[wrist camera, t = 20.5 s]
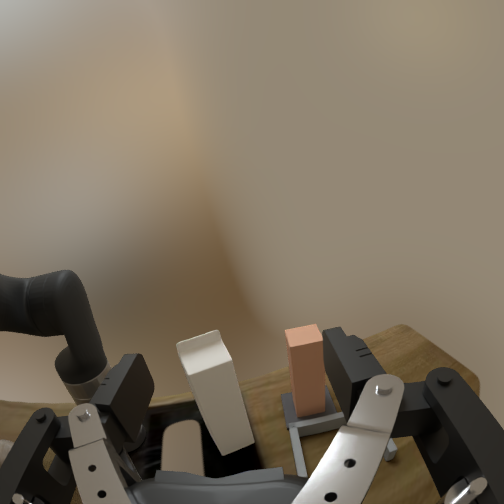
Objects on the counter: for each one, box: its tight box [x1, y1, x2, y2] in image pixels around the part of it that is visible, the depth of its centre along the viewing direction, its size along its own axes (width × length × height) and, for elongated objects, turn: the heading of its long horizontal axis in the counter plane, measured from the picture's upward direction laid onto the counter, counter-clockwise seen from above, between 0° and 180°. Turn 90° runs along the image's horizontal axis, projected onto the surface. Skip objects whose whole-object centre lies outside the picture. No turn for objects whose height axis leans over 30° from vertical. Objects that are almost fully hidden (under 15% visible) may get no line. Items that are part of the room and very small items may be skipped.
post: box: [285, 324, 325, 418], centre depth 41 cm, size 5×5×16 cm
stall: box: [289, 412, 397, 478], centre depth 32 cm, size 14×11×3 cm
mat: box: [281, 385, 337, 430], centre depth 43 cm, size 9×9×1 cm
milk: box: [176, 330, 255, 456], centre depth 35 cm, size 6×6×22 cm
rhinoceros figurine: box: [0, 440, 14, 467], centre depth 20 cm, size 8×14×15 cm
